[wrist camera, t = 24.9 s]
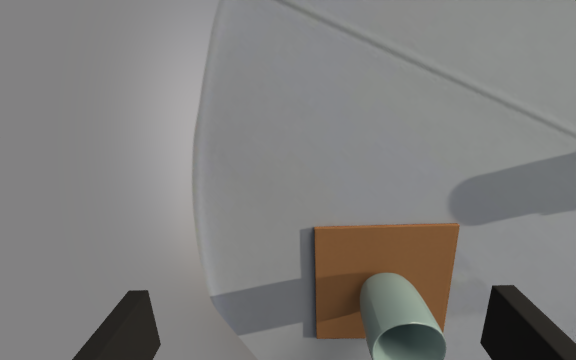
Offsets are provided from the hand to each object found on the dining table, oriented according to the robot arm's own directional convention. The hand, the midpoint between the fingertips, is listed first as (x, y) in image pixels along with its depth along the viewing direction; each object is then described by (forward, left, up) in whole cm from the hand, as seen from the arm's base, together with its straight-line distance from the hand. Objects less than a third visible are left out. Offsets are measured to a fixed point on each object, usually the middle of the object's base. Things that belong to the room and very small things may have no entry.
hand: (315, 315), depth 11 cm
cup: (+10, -18, -24) cm, 32 cm away
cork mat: (+10, -18, -25) cm, 32 cm away
